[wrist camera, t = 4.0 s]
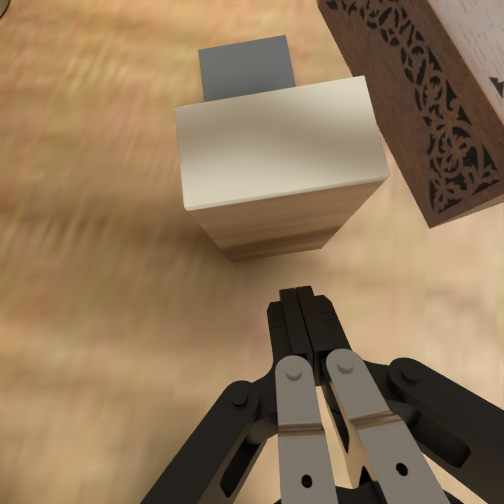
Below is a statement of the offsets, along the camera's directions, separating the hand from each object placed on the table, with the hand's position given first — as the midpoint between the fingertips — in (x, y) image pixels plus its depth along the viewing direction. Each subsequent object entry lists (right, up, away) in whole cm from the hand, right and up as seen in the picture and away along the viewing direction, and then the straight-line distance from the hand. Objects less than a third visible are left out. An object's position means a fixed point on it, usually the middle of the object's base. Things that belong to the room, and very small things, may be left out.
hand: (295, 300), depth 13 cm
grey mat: (-2, +16, +14) cm, 21 cm away
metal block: (0, +4, +12) cm, 12 cm away
